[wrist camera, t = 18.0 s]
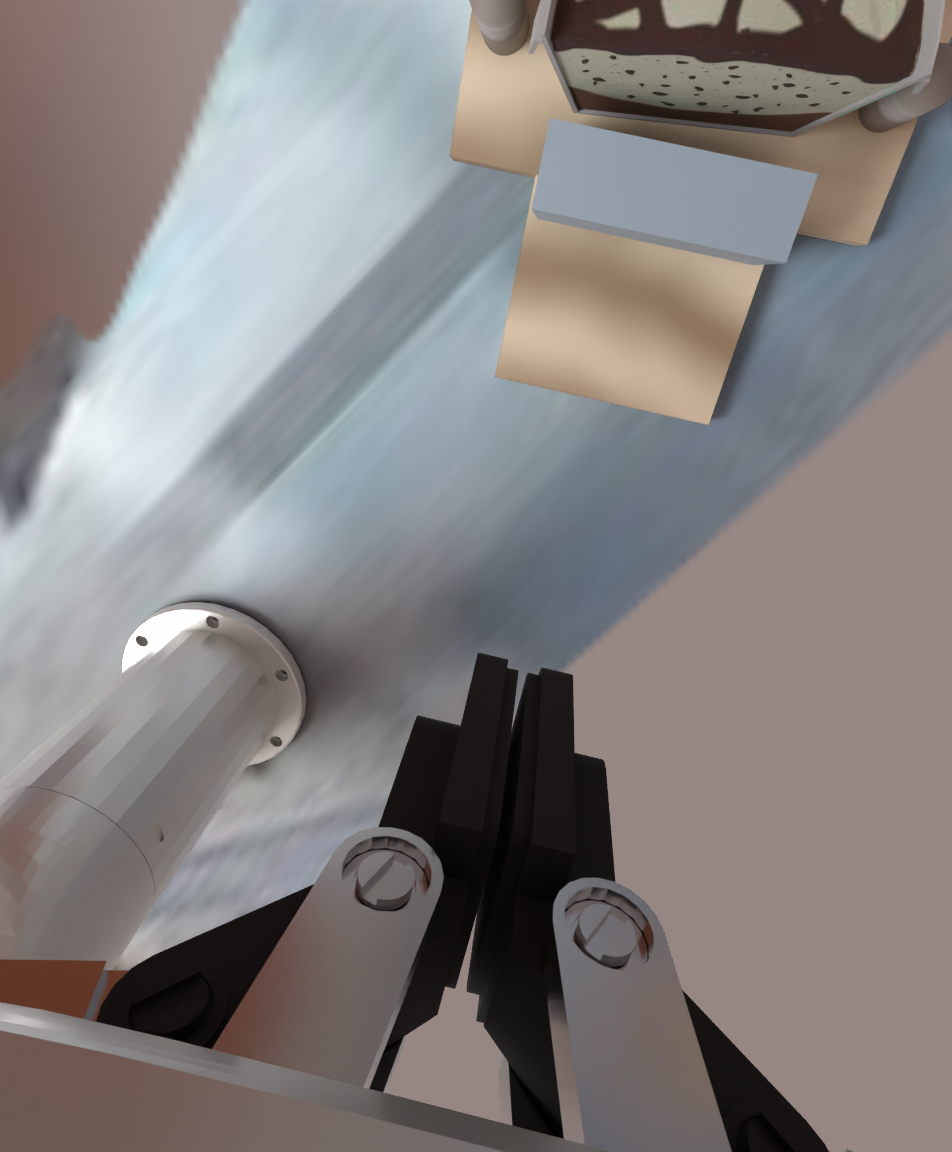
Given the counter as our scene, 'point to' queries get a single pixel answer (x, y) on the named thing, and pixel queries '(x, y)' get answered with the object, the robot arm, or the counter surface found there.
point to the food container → (737, 58)
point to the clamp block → (670, 194)
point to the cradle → (644, 270)
